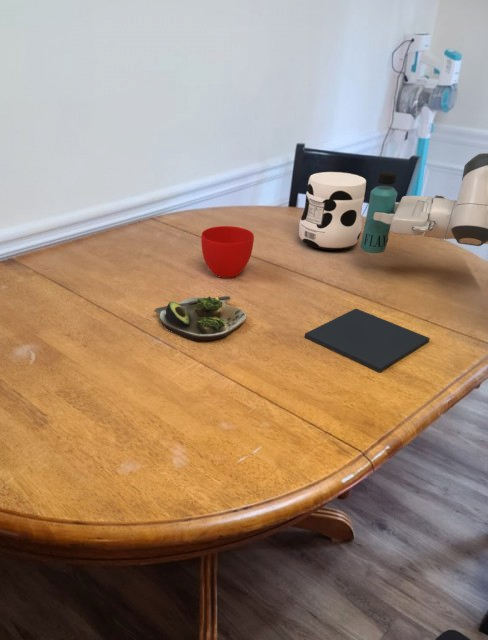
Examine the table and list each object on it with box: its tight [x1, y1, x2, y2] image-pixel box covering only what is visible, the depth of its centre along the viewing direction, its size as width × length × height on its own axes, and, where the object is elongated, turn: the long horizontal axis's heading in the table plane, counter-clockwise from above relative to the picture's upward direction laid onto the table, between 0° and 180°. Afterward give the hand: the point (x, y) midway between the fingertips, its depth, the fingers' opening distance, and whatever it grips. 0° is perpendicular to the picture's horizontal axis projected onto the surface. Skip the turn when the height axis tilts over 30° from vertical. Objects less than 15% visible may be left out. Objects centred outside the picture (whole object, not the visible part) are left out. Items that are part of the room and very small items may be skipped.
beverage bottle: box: [360, 171, 398, 254], centre depth 139 cm, size 6×7×20 cm
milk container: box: [298, 171, 367, 251], centre depth 157 cm, size 17×17×18 cm
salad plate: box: [153, 295, 247, 343], centre depth 122 cm, size 19×18×5 cm
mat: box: [304, 308, 431, 374], centre depth 116 cm, size 18×18×1 cm
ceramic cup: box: [200, 225, 255, 278], centre depth 143 cm, size 13×17×10 cm
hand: (376, 210), depth 138 cm, fingers closed on beverage bottle, 6 cm apart
